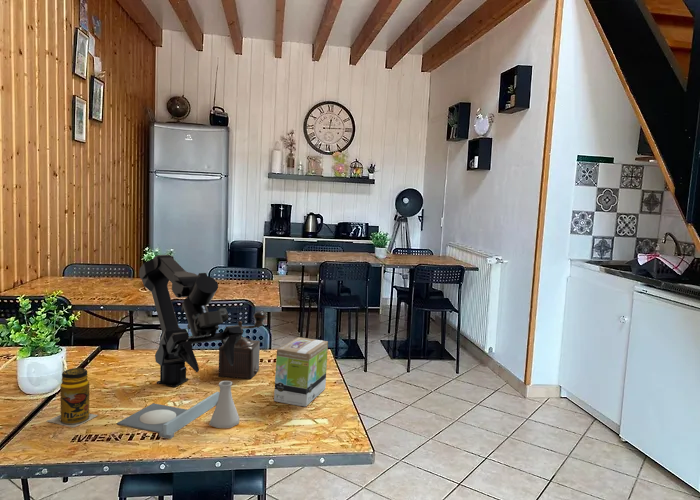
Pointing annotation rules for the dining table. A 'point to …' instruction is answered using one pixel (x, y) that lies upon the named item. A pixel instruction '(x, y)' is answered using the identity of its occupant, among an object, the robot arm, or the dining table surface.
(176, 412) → the resting mat
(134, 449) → the dining table surface
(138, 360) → the dining table surface
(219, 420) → the flask
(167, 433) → the grey footed bar
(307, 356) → the tea box
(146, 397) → the dining table surface
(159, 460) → the dining table surface
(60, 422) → the condiment
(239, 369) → the dark wooden grinder box
